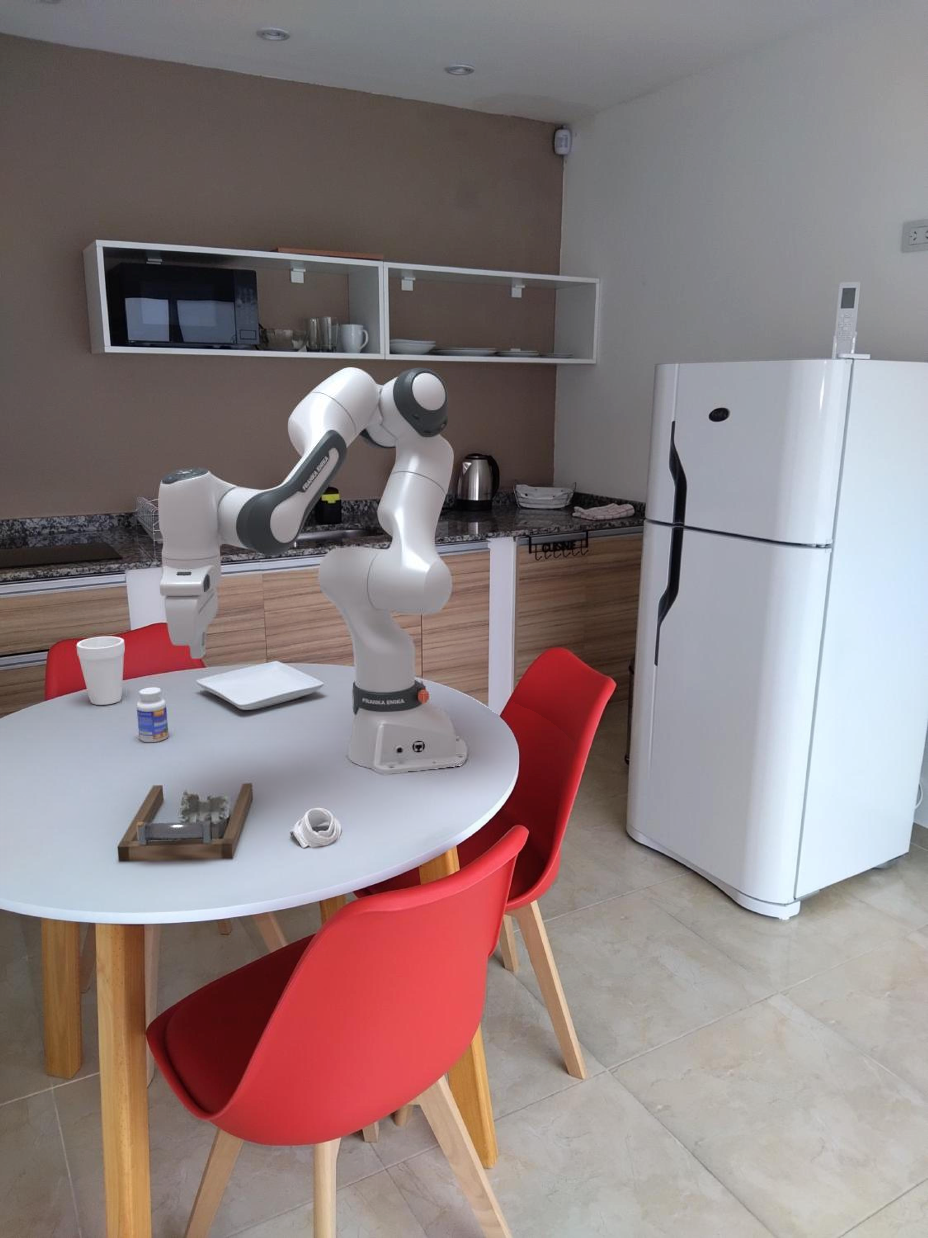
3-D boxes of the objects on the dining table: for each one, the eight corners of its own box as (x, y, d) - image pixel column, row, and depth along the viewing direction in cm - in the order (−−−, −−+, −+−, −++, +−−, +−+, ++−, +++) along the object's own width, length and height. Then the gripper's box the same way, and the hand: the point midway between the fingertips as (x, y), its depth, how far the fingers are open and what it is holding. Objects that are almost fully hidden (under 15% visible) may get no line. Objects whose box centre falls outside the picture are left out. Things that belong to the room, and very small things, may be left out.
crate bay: (252, 799, 148) (252, 783, 147) (232, 862, 128) (231, 843, 128) (154, 802, 146) (153, 785, 146) (119, 865, 127) (117, 847, 126)
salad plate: (241, 719, 184) (240, 703, 183) (194, 692, 199) (193, 678, 198) (327, 696, 198) (326, 682, 197) (277, 673, 213) (276, 660, 212)
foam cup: (72, 703, 190) (66, 645, 187) (105, 690, 199) (99, 634, 195) (106, 709, 187) (101, 650, 184) (138, 696, 195) (133, 639, 192)
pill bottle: (159, 744, 170) (155, 696, 167) (133, 741, 171) (129, 694, 168) (173, 733, 175) (170, 687, 172) (148, 731, 176) (145, 685, 173)
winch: (213, 837, 129) (211, 817, 128) (209, 845, 127) (208, 825, 126) (141, 839, 128) (139, 819, 128) (136, 847, 126) (134, 827, 125)
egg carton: (182, 812, 141) (182, 788, 140) (231, 811, 143) (231, 787, 142) (175, 843, 131) (175, 817, 130) (227, 841, 133) (227, 816, 132)
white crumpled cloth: (325, 823, 140) (324, 795, 139) (352, 838, 136) (352, 809, 135) (283, 842, 135) (282, 812, 133) (311, 857, 130) (310, 827, 129)
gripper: (186, 559, 150) (191, 638, 154) (156, 587, 130) (163, 676, 134) (224, 559, 151) (229, 637, 154) (200, 587, 131) (206, 675, 135)
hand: (198, 656), depth 144 cm, fingers closed
